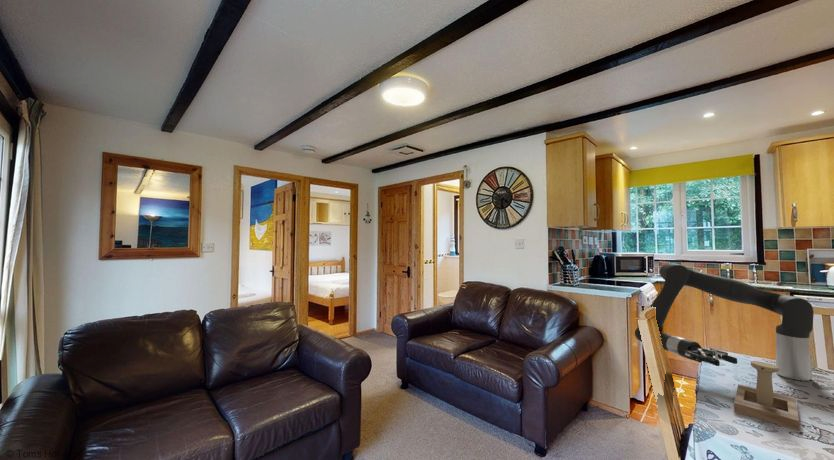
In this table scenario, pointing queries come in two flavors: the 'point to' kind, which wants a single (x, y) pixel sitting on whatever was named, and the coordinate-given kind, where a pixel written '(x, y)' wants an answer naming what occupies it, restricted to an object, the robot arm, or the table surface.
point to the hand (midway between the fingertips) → (727, 362)
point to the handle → (764, 382)
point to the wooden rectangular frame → (767, 408)
